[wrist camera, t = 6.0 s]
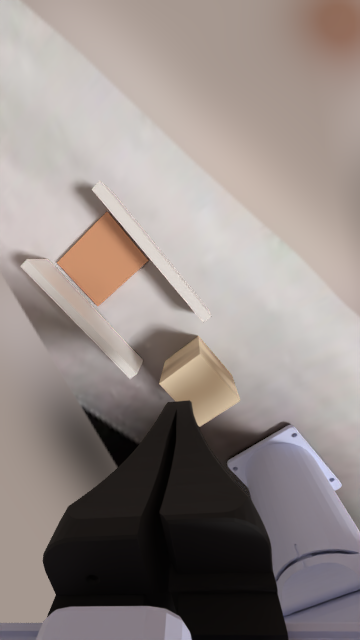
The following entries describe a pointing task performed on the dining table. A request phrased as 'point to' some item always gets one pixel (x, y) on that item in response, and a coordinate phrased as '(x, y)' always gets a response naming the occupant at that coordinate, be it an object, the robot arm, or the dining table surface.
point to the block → (199, 381)
